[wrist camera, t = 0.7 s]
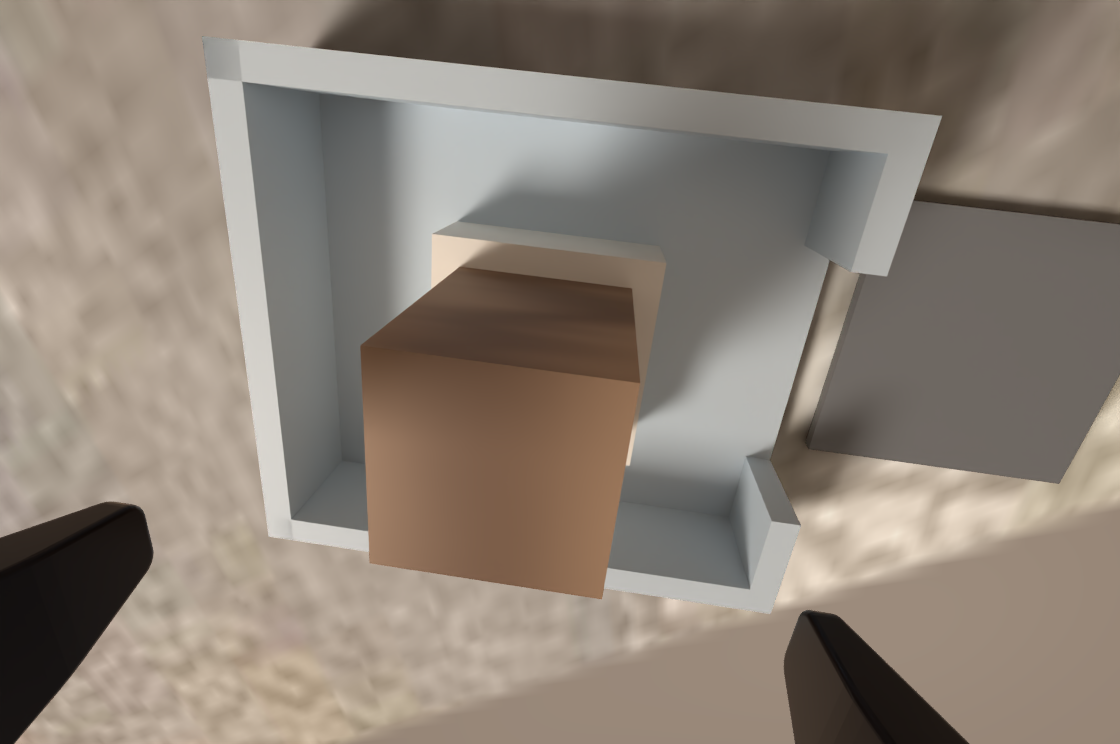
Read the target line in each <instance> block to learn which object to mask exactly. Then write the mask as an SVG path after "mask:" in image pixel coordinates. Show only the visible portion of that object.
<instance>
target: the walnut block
mask: <svg viewBox="0 0 1120 744" xmlns="http://www.w3.org/2000/svg"><path fill="white" fill-rule="evenodd" d="M360 351H361V375H362V398H363V421H364V444H365V467H366V490H367V513H368V537H369V560H370V563H372V564H378V565H385V566H391V567H398V568H404V569H410V570H417V571H423V572H430V573H436V574H443V575H449V576H456V577H462V578H468V579H475V580H481V581H488V582H494V583H501V584H507V585H513V586H520V587H526V588H533V589H539V590H546V591H552V592H558V593H565V594H571V595H578V596H584V597H591V598H597V599H602V596H603V590H604V584H605V579H606V573H607V567H608V562H609V556H610V551H611V545H612V539H613V534H614V528H615V522H616V517H617V511H618V506H619V500H620V494H621V489H622V483H623V478H624V472H625V466H626V461H627V455H628V449H629V444H630V438H631V433H632V427H633V421H634V416H635V410H636V405H637V399H638V393H639V388H640V374H639V363H638V351H637V340H636V328H635V317H634V305H633V294H632V288H625V287H617V286H609V285H601V284H594V283H586V282H578V281H570V280H562V279H554V278H546V277H538V276H530V275H522V274H515V273H507V272H499V271H491V270H483V269H475V268H467V267H459V268H457V269H456V270H455V271H454V272H452V273H451V274H450V275H448V276H447V277H446V278H445V279H443V280H442V281H441V282H440V283H438V284H437V285H436V286H435V287H433V288H432V289H431V290H430V291H428V292H427V293H426V294H424V295H423V296H422V297H421V298H419V299H418V300H417V301H416V302H414V303H413V304H412V305H411V306H409V307H408V308H407V309H406V310H404V311H403V312H402V313H401V314H399V315H398V316H397V317H395V318H394V319H393V320H392V321H390V322H389V323H388V324H387V325H385V326H384V327H383V328H382V329H380V330H379V331H378V332H377V333H375V334H374V335H373V336H371V337H370V338H369V339H368V340H366V341H365V342H364V343H363V344H361V345H360Z"/></svg>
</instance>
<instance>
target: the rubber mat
mask: <svg viewBox="0 0 1120 744" xmlns="http://www.w3.org/2000/svg"><path fill="white" fill-rule="evenodd" d="M1119 375H1120V224H1116V223H1107V222H1098V221H1090V220H1081V219H1072V218H1064V217H1055V216H1046V215H1038V214H1029V213H1020V212H1012V211H1003V210H994V209H986V208H977V207H968V206H960V205H951V204H942V203H934V202H925V201H917V200H913V202H912V205H911V208H910V211H909V214H908V217H907V220H906V223H905V225H904V228H903V231H902V234H901V237H900V240H899V243H898V246H897V249H896V252H895V254H894V257H893V260H892V263H891V266H890V269H889V272H888V275H887V276H879V275H871V274H863V273H860V275H859V279H858V282H857V285H856V288H855V291H854V294H853V297H852V300H851V303H850V306H849V309H848V312H847V316H846V319H845V322H844V325H843V328H842V331H841V334H840V337H839V340H838V343H837V346H836V349H835V353H834V356H833V359H832V362H831V365H830V368H829V371H828V374H827V377H826V380H825V383H824V386H823V389H822V393H821V396H820V399H819V402H818V405H817V408H816V411H815V414H814V417H813V420H812V423H811V426H810V430H809V433H808V436H807V439H806V442H805V443H806V445H807V447H808V448H809V449H813V450H820V451H827V452H834V453H841V454H849V455H856V456H863V457H870V458H877V459H885V460H892V461H899V462H906V463H913V464H921V465H928V466H935V467H942V468H949V469H957V470H964V471H971V472H978V473H985V474H992V475H1000V476H1007V477H1014V478H1021V479H1028V480H1036V481H1043V482H1050V483H1057V484H1059V483H1060V481H1061V479H1062V478H1063V476H1064V474H1065V472H1066V470H1067V469H1068V467H1069V465H1070V463H1071V461H1072V460H1073V458H1074V456H1075V454H1076V452H1077V451H1078V449H1079V447H1080V445H1081V443H1082V442H1083V440H1084V438H1085V436H1086V434H1087V433H1088V431H1089V429H1090V427H1091V425H1092V424H1093V422H1094V420H1095V418H1096V416H1097V415H1098V413H1099V411H1100V409H1101V407H1102V406H1103V404H1104V402H1105V400H1106V398H1107V397H1108V395H1109V393H1110V391H1111V389H1112V388H1113V386H1114V384H1115V382H1116V380H1117V379H1118V377H1119Z"/></svg>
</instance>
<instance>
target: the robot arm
mask: <svg viewBox="0 0 1120 744" xmlns="http://www.w3.org/2000/svg"><path fill="white" fill-rule="evenodd" d="M153 553H154V552H153V547H152V542H151V538H150V534H149V530H148V526H147V522H146V518H145V514H144V512H143V510H142V509H141V508H140V507H138V506H136V505H132V504H126V503H119V502H104V503H100V504H97V505H94V506H91V507H88V508H86V509H83V510H80V511H77V512H74V513H71V514H68V515H65V516H62V517H59V518H57V519H54V520H51V521H48V522H45V523H42V524H39V525H36V526H33V527H30V528H27V529H25V530H22V531H19V532H16V533H13V534H10V535H7V536H4V537H1V538H0V744H14V743H15V742H16V741H17V740H18V739H19V738H20V736H21V735H22V734H23V733H24V732H25V730H26V729H27V728H28V727H29V726H30V725H31V723H32V722H33V721H34V720H35V719H36V718H37V716H38V715H39V714H40V713H41V712H42V711H43V709H44V708H45V707H46V706H47V705H48V703H49V702H50V701H51V700H52V699H53V698H54V696H55V695H56V694H57V693H58V692H59V690H60V689H61V688H62V687H63V685H64V684H65V683H66V682H67V681H68V679H69V678H70V677H71V676H72V674H73V673H74V672H75V670H76V669H77V668H78V666H79V665H80V664H81V662H82V661H83V660H84V658H85V657H86V656H87V654H88V653H89V651H90V650H91V649H92V647H93V646H94V644H95V643H96V642H97V640H98V639H99V638H100V636H101V635H102V633H103V632H104V631H105V629H106V628H107V626H108V625H109V624H110V622H111V621H112V620H113V618H114V617H115V615H116V614H117V613H118V611H119V610H120V608H121V607H122V606H123V604H124V603H125V602H126V600H127V599H128V597H129V596H130V595H131V593H132V592H133V590H134V589H135V588H136V586H137V585H138V583H139V582H140V581H141V579H142V578H143V577H144V575H145V574H146V572H147V571H148V569H149V567H150V565H151V563H152V560H153ZM784 675H785V681H786V688H787V694H788V700H789V707H790V714H791V720H792V727H793V733H794V740H795V744H969V743H968V742H967V741H966V740H965V739H964V738H963V737H962V736H961V735H960V734H959V733H958V732H957V731H956V730H955V729H954V728H953V727H952V726H951V725H950V724H949V723H948V722H947V721H946V720H945V719H944V718H943V717H942V716H941V715H940V714H939V713H938V712H937V711H935V710H934V709H933V708H932V707H931V706H930V705H929V704H928V703H927V702H926V701H925V700H924V699H923V698H922V697H921V696H920V695H919V694H918V693H917V692H916V691H915V690H914V689H913V688H912V687H911V686H910V685H909V684H908V683H907V682H906V681H905V680H904V679H903V678H902V677H901V676H900V675H899V674H898V673H897V672H895V670H893V668H892V667H890V666H889V665H888V664H887V663H886V662H885V661H884V660H883V659H882V658H881V657H880V656H879V655H878V654H877V653H876V652H875V651H874V650H873V649H872V648H871V647H870V646H869V645H868V644H867V643H866V642H865V641H864V640H863V639H862V638H861V637H860V636H859V635H858V634H857V633H856V632H855V631H854V630H853V629H851V628H850V626H849V625H847V624H846V623H845V622H844V621H843V620H842V619H841V618H840V617H838V616H837V615H834V614H831V613H825V612H817V611H812V610H806V611H804V612H802V613H801V615H800V616H799V618H798V621H797V623H796V626H795V629H794V631H793V634H792V637H791V640H790V642H789V645H788V648H787V650H786V653H785V658H784Z"/></svg>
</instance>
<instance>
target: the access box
mask: <svg viewBox="0 0 1120 744" xmlns="http://www.w3.org/2000/svg"><path fill="white" fill-rule="evenodd" d="M202 40H203V48H204V55H205V63H206V70H207V78H208V85H209V93H210V100H211V108H212V115H213V123H214V130H215V138H216V145H217V153H218V160H219V168H220V175H221V183H222V190H223V198H224V205H225V213H226V220H227V228H228V235H229V243H230V250H231V258H232V265H233V273H234V280H235V288H236V295H237V303H238V310H239V318H240V325H241V333H242V340H243V348H244V355H245V363H246V370H247V377H248V385H249V392H250V400H251V407H252V415H253V422H254V430H255V437H256V445H257V452H258V460H259V467H260V475H261V482H262V490H263V497H264V505H265V512H266V520H267V527H268V535H269V537H275V538H282V539H288V540H295V541H301V542H307V543H314V544H320V545H327V546H333V547H340V548H346V549H353V550H359V551H366V552H369V537H368V513H367V490H366V467H365V444H364V421H363V398H362V375H361V351H360V345H361V344H363V343H364V342H365V341H366V340H368V339H369V338H370V337H371V336H373V335H374V334H375V333H377V332H378V331H379V330H380V329H382V328H383V327H384V326H385V325H387V324H388V323H389V322H390V321H392V320H393V319H394V318H395V317H397V316H398V315H399V314H401V313H402V312H403V311H404V310H406V309H407V308H408V307H409V306H411V305H412V304H413V303H414V302H416V301H417V300H418V299H419V298H421V297H422V296H423V295H424V294H426V293H427V292H428V291H430V290H431V289H432V288H433V287H435V286H436V285H437V284H438V283H440V282H441V281H442V280H443V279H445V278H446V277H447V276H448V275H450V274H451V273H452V272H454V271H455V270H456V269H457V268H459V267H467V268H475V269H483V270H491V271H499V272H507V273H515V274H522V275H530V276H538V277H546V278H554V279H562V280H570V281H578V282H586V283H594V284H601V285H609V286H617V287H625V288H632V294H633V305H634V317H635V328H636V340H637V351H638V363H639V374H640V388H639V393H638V399H637V405H636V410H635V416H634V421H633V427H632V433H631V438H630V444H629V449H628V455H627V461H626V466H625V472H624V478H623V483H622V489H621V494H620V500H619V506H618V511H617V517H616V522H615V528H614V534H613V539H612V545H611V551H610V556H609V562H608V567H607V573H606V579H605V584H604V588H605V589H612V590H618V591H625V592H631V593H638V594H644V595H651V596H657V597H664V598H670V599H677V600H683V601H690V602H696V603H703V604H709V605H715V606H722V607H728V608H735V609H741V610H748V611H754V612H761V613H767V614H771V611H772V608H773V605H774V603H775V600H776V597H777V594H778V591H779V588H780V585H781V582H782V579H783V576H784V574H785V571H786V568H787V565H788V562H789V559H790V556H791V553H792V550H793V547H794V545H795V542H796V539H797V536H798V533H799V530H800V527H801V524H800V522H799V520H798V518H797V516H796V514H795V512H794V510H793V508H792V505H791V503H790V501H789V499H788V497H787V495H786V493H785V491H784V488H783V486H782V484H781V482H780V480H779V478H778V476H777V474H776V471H775V469H774V467H773V465H772V463H771V461H770V458H771V455H772V452H773V448H774V445H775V442H776V438H777V435H778V432H779V428H780V425H781V422H782V418H783V415H784V412H785V408H786V405H787V402H788V398H789V395H790V392H791V388H792V385H793V381H794V378H795V375H796V371H797V368H798V365H799V361H800V358H801V355H802V351H803V348H804V345H805V341H806V338H807V335H808V331H809V328H810V325H811V321H812V318H813V315H814V311H815V308H816V305H817V301H818V298H819V295H820V291H821V288H822V285H823V281H824V278H825V275H826V271H827V268H828V265H829V261H830V260H831V261H832V262H834V263H836V264H838V265H839V266H841V267H843V268H845V269H846V270H848V271H850V272H855V273H863V274H871V275H879V276H887V275H888V272H889V269H890V266H891V263H892V260H893V257H894V254H895V252H896V249H897V246H898V243H899V240H900V237H901V234H902V231H903V228H904V225H905V223H906V220H907V217H908V214H909V211H910V208H911V205H912V202H913V199H914V196H915V194H916V191H917V188H918V185H919V182H920V179H921V176H922V173H923V170H924V167H925V165H926V162H927V159H928V156H929V153H930V150H931V147H932V144H933V141H934V138H935V135H936V133H937V130H938V127H939V124H940V121H941V118H942V116H939V115H929V114H920V113H911V112H902V111H892V110H883V109H874V108H865V107H855V106H846V105H837V104H827V103H818V102H809V101H800V100H790V99H781V98H772V97H762V96H753V95H744V94H735V93H725V92H716V91H707V90H698V89H688V88H679V87H670V86H660V85H651V84H642V83H633V82H623V81H614V80H605V79H595V78H586V77H577V76H568V75H558V74H549V73H540V72H531V71H521V70H512V69H503V68H493V67H484V66H475V65H466V64H456V63H447V62H438V61H428V60H419V59H410V58H401V57H391V56H382V55H373V54H364V53H354V52H345V51H336V50H326V49H317V48H308V47H299V46H289V45H280V44H271V43H261V42H252V41H243V40H234V39H224V38H215V37H206V36H202Z"/></svg>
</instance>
